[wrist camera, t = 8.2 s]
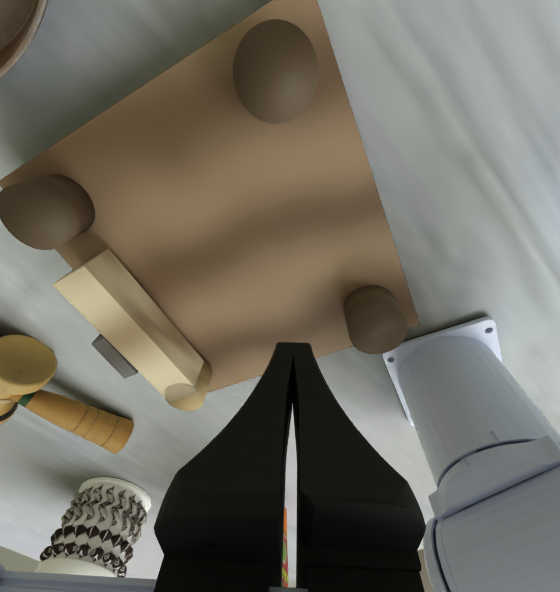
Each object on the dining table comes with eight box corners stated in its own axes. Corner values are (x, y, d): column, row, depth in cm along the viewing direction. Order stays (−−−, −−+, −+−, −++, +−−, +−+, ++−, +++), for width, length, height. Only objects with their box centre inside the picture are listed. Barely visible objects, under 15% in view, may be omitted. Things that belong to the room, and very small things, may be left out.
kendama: (161, 389, 30) (-62, 278, 22) (133, 460, 26) (-162, 352, 17) (123, 411, 34) (-78, 324, 26) (93, 475, 30) (-162, 394, 21)
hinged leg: (219, 377, 23) (211, 403, 21) (190, 388, 24) (180, 414, 22) (109, 247, 18) (85, 265, 16) (77, 266, 19) (50, 285, 17)
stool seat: (408, 303, 22) (436, 353, 18) (195, 376, 27) (174, 430, 22) (307, -5, 14) (311, -57, 10) (31, 173, 19) (-53, 194, 14)
